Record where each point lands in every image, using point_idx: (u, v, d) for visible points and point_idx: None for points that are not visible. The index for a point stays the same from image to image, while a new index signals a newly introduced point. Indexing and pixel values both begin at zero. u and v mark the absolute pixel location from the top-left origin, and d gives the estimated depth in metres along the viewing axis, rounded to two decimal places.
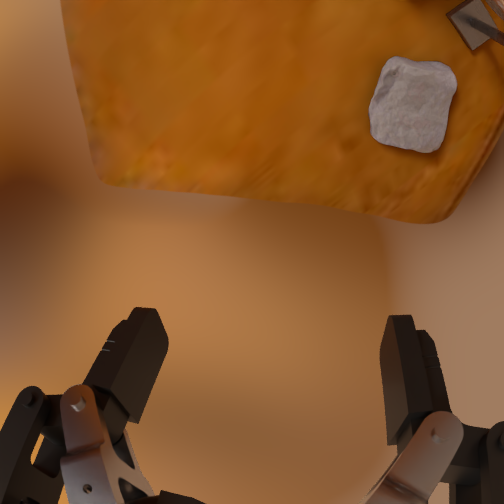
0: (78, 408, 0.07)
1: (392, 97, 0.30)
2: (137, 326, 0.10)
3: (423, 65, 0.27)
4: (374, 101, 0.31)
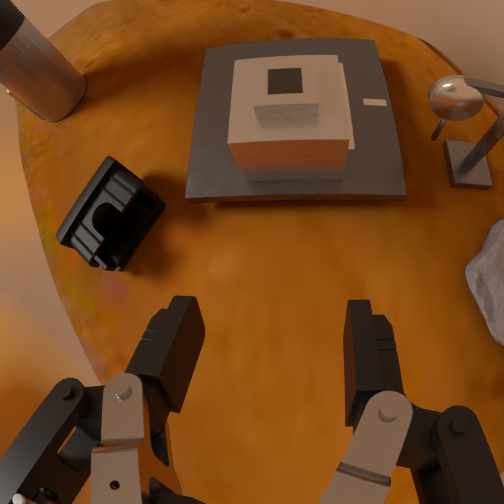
0: (125, 398, 0.07)
1: (498, 301, 0.23)
2: (180, 314, 0.10)
3: (488, 244, 0.25)
4: (490, 323, 0.23)
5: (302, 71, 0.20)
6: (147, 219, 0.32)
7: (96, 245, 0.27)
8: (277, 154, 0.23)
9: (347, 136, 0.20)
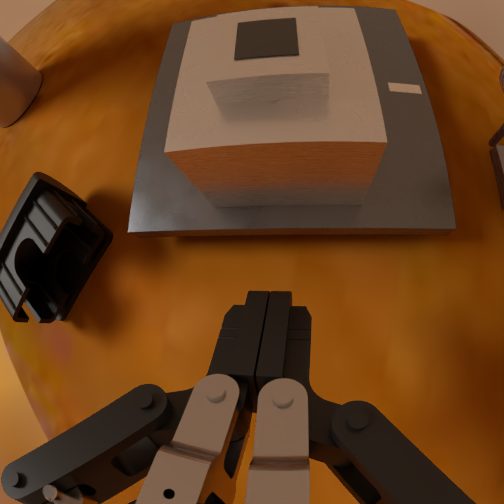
0: (221, 402, 0.07)
1: None
2: (260, 309, 0.10)
3: None
4: None
5: (298, 23, 0.10)
6: (87, 257, 0.22)
7: (18, 297, 0.18)
8: (255, 169, 0.13)
9: (383, 136, 0.10)
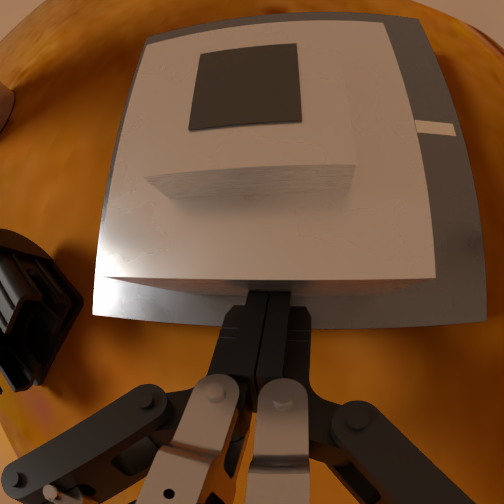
0: (221, 402, 0.07)
1: None
2: (260, 309, 0.10)
3: None
4: None
5: (300, 53, 0.06)
6: (56, 326, 0.18)
7: None
8: (234, 287, 0.09)
9: (430, 267, 0.06)
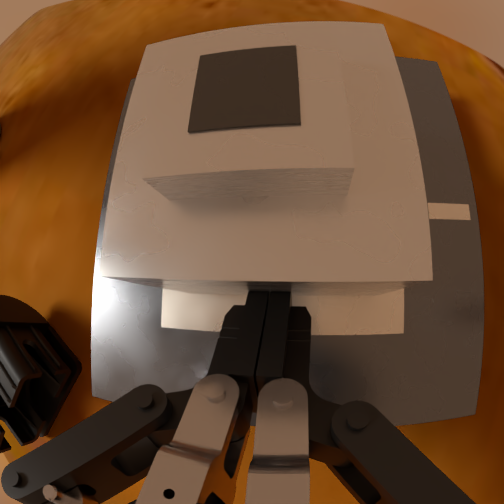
0: (221, 402, 0.07)
1: None
2: (260, 309, 0.10)
3: None
4: None
5: (300, 55, 0.06)
6: (57, 391, 0.17)
7: None
8: (232, 287, 0.09)
9: (427, 270, 0.07)
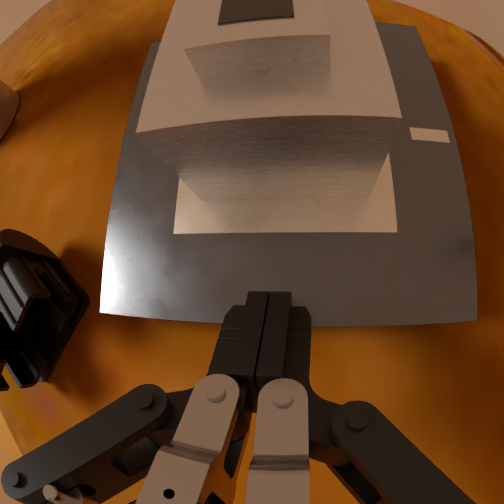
0: (221, 402, 0.07)
1: None
2: (260, 309, 0.10)
3: None
4: None
5: None
6: (63, 324, 0.19)
7: None
8: (244, 152, 0.11)
9: (396, 111, 0.08)
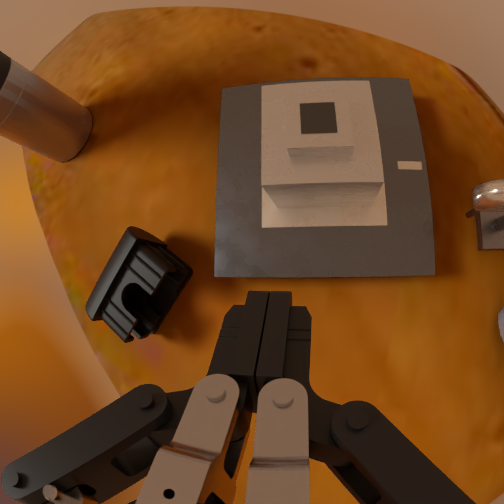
0: (221, 402, 0.07)
1: None
2: (260, 309, 0.10)
3: None
4: None
5: (335, 106, 0.20)
6: (176, 289, 0.32)
7: (129, 326, 0.28)
8: (310, 191, 0.23)
9: (381, 178, 0.20)
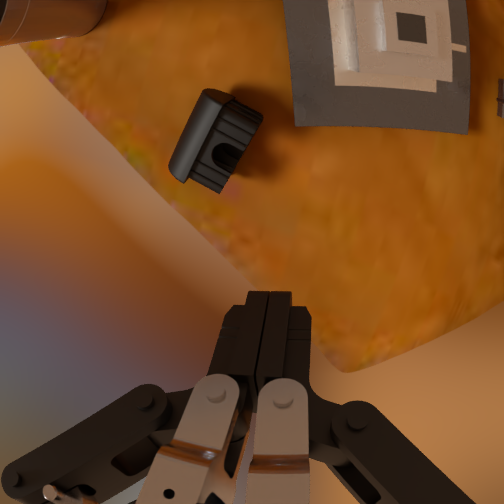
0: (221, 402, 0.07)
1: None
2: (260, 309, 0.10)
3: None
4: None
5: (425, 20, 0.17)
6: (252, 135, 0.35)
7: (224, 180, 0.34)
8: None
9: (451, 79, 0.20)
